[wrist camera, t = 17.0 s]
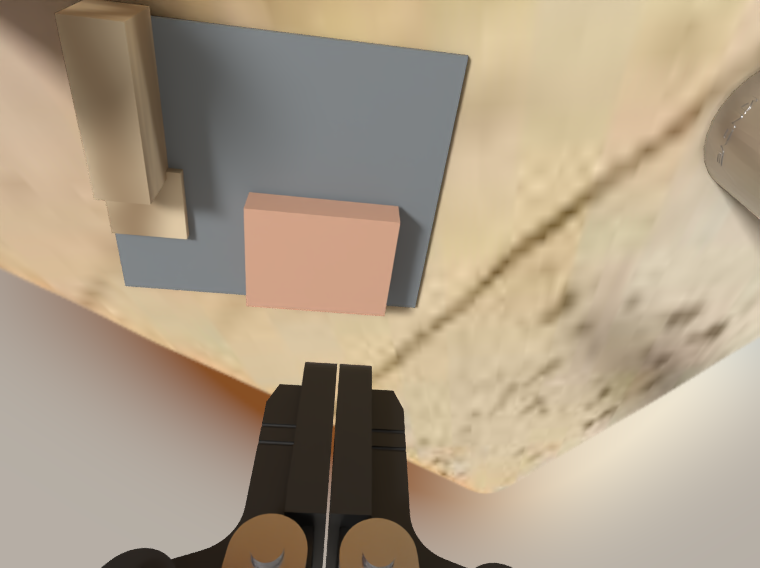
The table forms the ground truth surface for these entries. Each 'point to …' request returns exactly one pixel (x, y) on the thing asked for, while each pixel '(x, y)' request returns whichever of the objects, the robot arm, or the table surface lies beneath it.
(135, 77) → the beige pillar on base
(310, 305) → the tile
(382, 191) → the mat
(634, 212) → the table surface
